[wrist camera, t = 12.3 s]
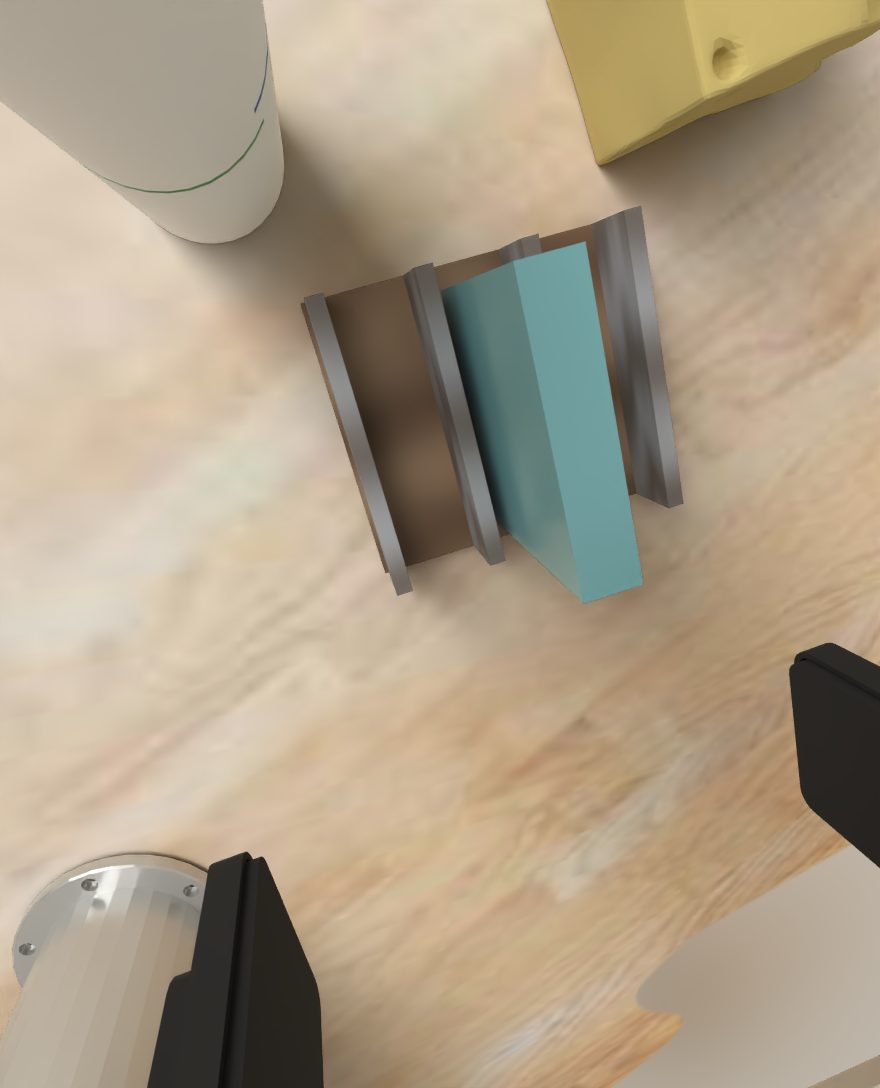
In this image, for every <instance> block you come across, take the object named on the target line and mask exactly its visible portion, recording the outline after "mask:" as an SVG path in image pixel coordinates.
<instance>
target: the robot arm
mask: <svg viewBox="0 0 880 1088" xmlns="http://www.w3.org/2000/svg"><path fill="white" fill-rule="evenodd" d="M789 676H790V686H791V696H792V707H793V717H794V727H795V737H796V747H797V757H798V768H799V778H800V788H801V792H802V795H803V797H804V799H805V801H806V803H807V804H808V806H809V807H810V808H811V809H812V810H813V811H814V812H815V813H816V814H817V815H818V816H820V817H821V818H822V819H823V820H824V821H825V822H827V823H828V824H829V825H830V826H831V827H832V828H834V829H835V830H836V831H837V832H838V833H839V834H841V835H842V836H843V837H844V838H845V839H847V840H848V841H849V842H850V843H851V844H852V845H854V846H855V847H856V848H857V849H858V850H859V851H861V852H862V853H863V854H864V855H865V856H866V857H868V858H869V859H870V860H871V861H872V862H873V863H875V864H876V865H877V866H878V867H879V868H880V667H879V666H877V665H876V664H874V663H872V662H870V661H868V660H866V659H864V658H862V657H860V656H858V655H856V654H854V653H852V652H850V651H848V650H846V649H844V648H842V647H840V646H838V645H836V644H833V643H825V644H823V645H820V646H817V647H814V648H811V649H809V650H806V651H803V652H800V653H799V654H797V655H796V657H795V660H794V664H793V665H792V666H791V667H790V669H789ZM12 957H13V968H14V971H15V974H16V977H17V980H18V982H19V984H20V986H21V987H22V991H21V993H20V995H19V998H18V1000H17V1002H16V1004H15V1007H14V1009H13V1011H12V1013H11V1016H10V1018H9V1020H8V1022H7V1025H6V1027H5V1029H4V1031H3V1034H2V1036H1V1038H0V1088H324V1084H323V1058H322V1032H321V1007H320V998H319V992H318V987H317V984H316V980H315V978H314V975H313V973H312V970H311V968H310V966H309V963H308V961H307V958H306V956H305V954H304V951H303V949H302V946H301V944H300V942H299V939H298V937H297V934H296V932H295V930H294V927H293V925H292V922H291V920H290V918H289V915H288V913H287V911H286V908H285V906H284V903H283V901H282V899H281V896H280V894H279V891H278V889H277V887H276V884H275V882H274V879H273V877H272V875H271V872H270V870H269V867H268V865H267V863H266V861H265V859H264V858H263V857H259V858H256V859H252V857H251V855H250V854H249V853H248V852H244V853H241V854H238V855H235V856H233V857H230V858H227V859H224V860H221V861H219V862H216V863H213V864H211V865H210V867H209V870H208V874H207V873H206V872H204V871H202V870H200V869H198V868H196V867H194V866H193V865H191V864H188V863H185V862H182V861H179V860H176V859H172V858H168V857H162V856H155V855H121V856H114V857H108V858H103V859H100V860H96V861H93V862H90V863H87V864H83V865H81V866H79V867H77V868H75V869H73V870H71V871H69V872H67V873H65V874H63V875H62V876H60V877H59V878H58V879H56V880H55V881H53V882H52V883H51V884H49V885H48V886H47V887H46V888H45V889H44V890H43V891H42V892H41V893H40V894H39V895H38V896H37V897H36V898H35V899H34V900H33V902H32V904H31V905H30V907H29V908H28V910H27V912H26V913H25V915H24V917H23V919H22V921H21V924H20V926H19V928H18V930H17V932H16V935H15V938H14V943H13V947H12ZM809 1088H880V1055H879V1056H877V1057H874V1058H872V1059H870V1060H868V1061H866V1062H864V1063H861V1064H859V1065H857V1066H855V1067H853V1068H850V1069H848V1070H846V1071H844V1072H841V1073H839V1074H838V1075H835V1076H833V1077H831V1078H828V1079H826V1080H824V1081H822V1082H820V1083H817V1084H815V1085H813V1086H811V1087H809Z"/></svg>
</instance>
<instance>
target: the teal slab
mask: <svg viewBox="0 0 880 1088" xmlns="http://www.w3.org/2000/svg"><path fill="white" fill-rule="evenodd" d="M440 292H441V296H442V300H443V304H444V308H445V313H446V317H447V321H448V325H449V329H450V333H451V337H452V341H453V345H454V349H455V354H456V358H457V362H458V366H459V370H460V374H461V378H462V382H463V386H464V390H465V395H466V399H467V403H468V407H469V411H470V415H471V419H472V423H473V427H474V432H475V436H476V440H477V444H478V448H479V452H480V456H481V460H482V464H483V468H484V473H485V477H486V481H487V485H488V489H489V493H490V497H491V501H492V505H493V510H494V514H495V518H496V521H497V522H498V523H499V524H500V525H501V526H502V527H503V528H504V529H505V530H506V531H507V532H508V533H509V534H510V535H511V536H512V537H513V538H515V539H516V540H517V541H518V542H519V543H520V544H521V545H522V546H523V547H524V548H525V549H526V550H527V551H528V552H529V553H530V554H531V555H532V556H533V557H535V558H536V559H537V560H538V561H539V562H540V563H541V564H542V565H543V566H544V567H545V568H546V569H547V570H548V571H549V572H550V573H551V574H552V575H553V576H555V577H556V578H557V579H558V580H559V581H560V582H561V583H562V584H563V585H564V586H565V587H566V588H567V589H568V590H569V591H570V592H571V593H572V594H573V595H574V596H576V597H577V598H578V599H579V600H580V601H581V602H582V603H583V604H586V603H589V602H592V601H595V600H598V599H601V598H604V597H607V596H610V595H613V594H616V593H619V592H622V591H625V590H628V589H631V588H634V587H637V586H640V585H643V578H642V572H641V566H640V560H639V554H638V548H637V543H636V537H635V531H634V525H633V519H632V513H631V507H630V501H629V495H628V489H627V483H626V478H625V472H624V466H623V460H622V454H621V448H620V442H619V436H618V430H617V424H616V418H615V413H614V407H613V401H612V395H611V389H610V383H609V377H608V371H607V365H606V359H605V354H604V348H603V342H602V336H601V330H600V324H599V318H598V312H597V306H596V300H595V294H594V289H593V283H592V277H591V271H590V265H589V259H588V253H587V247H586V241H585V242H582V243H578V244H574V245H571V246H567V247H563V248H560V249H556V250H552V251H549V252H545V253H541V254H538V255H534V256H530V257H527V258H523V259H519V260H516V261H513V262H510V263H508V264H505V265H503V266H500V267H498V268H495V269H493V270H490V271H488V272H485V273H483V274H480V275H478V276H475V277H473V278H471V279H468V280H466V281H463V282H461V283H458V284H456V285H453V286H451V287H448V288H446V289H443V290H441V291H440Z"/></svg>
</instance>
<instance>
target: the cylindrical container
mask: <svg viewBox="0 0 880 1088" xmlns="http://www.w3.org/2000/svg"><path fill="white" fill-rule="evenodd" d="M0 101H1V102H2V103H4V104H5V105H6V106H7V107H9V108H10V109H11V110H13V111H14V112H15V113H16V114H18V115H19V116H20V117H21V118H23V119H24V120H25V121H27V122H28V123H29V124H30V125H32V126H33V127H34V128H35V129H37V130H38V131H39V132H41V133H42V134H43V135H44V136H46V137H47V138H48V139H49V140H51V141H52V142H53V143H55V144H56V145H57V146H58V147H60V148H61V149H62V150H64V151H65V152H66V153H67V154H69V155H70V156H71V157H73V158H74V159H75V160H76V161H78V162H79V163H80V164H82V165H83V166H84V167H85V168H87V169H88V170H89V171H90V172H92V173H93V174H94V175H96V176H97V177H98V178H99V179H101V180H102V181H103V182H104V183H106V184H107V185H108V186H110V187H111V188H112V189H113V190H115V191H116V192H117V193H118V194H120V195H121V196H122V197H123V198H125V199H126V200H127V201H129V202H130V203H131V204H132V205H134V206H135V207H136V208H137V209H139V210H140V211H141V212H142V213H144V214H145V215H146V216H148V217H149V218H150V219H151V220H153V221H154V222H155V223H156V224H158V225H159V226H161V227H162V228H164V229H166V230H167V231H169V232H170V233H172V234H174V235H176V236H179V237H181V238H184V239H186V240H190V241H194V242H199V243H215V244H219V243H224V242H229V241H234V240H236V239H238V238H241V237H243V236H245V235H247V234H249V233H251V232H252V231H253V230H254V229H256V228H257V227H258V226H260V225H261V224H262V223H263V222H264V220H265V219H266V218H267V217H268V215H269V214H270V213H271V212H272V210H273V208H274V206H275V204H276V202H277V200H278V198H279V195H280V191H281V188H282V184H283V176H284V156H283V146H282V139H281V131H280V124H279V117H278V110H277V102H276V95H275V88H274V80H273V73H272V66H271V58H270V51H269V44H268V36H267V29H266V23H265V14H264V7H263V0H0Z"/></svg>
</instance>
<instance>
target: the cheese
mask: <svg viewBox="0 0 880 1088" xmlns="http://www.w3.org/2000/svg"><path fill="white" fill-rule="evenodd" d="M547 3H548V6H549V9H550V12H551V15H552V18H553V21H554V24H555V27H556V30H557V33H558V36H559V39H560V42H561V45H562V48H563V50H564V53H565V56H566V59H567V62H568V65H569V68H570V71H571V74H572V78H573V81H574V84H575V88H576V91H577V95H578V98H579V102H580V105H581V108H582V112H583V116H584V119H585V123H586V127H587V130H588V134H589V138H590V141H591V145H592V149H593V152H594V156H595V160H596V163H597V164H598V165H604V164H606V163H609V162H611V161H613V160H615V159H617V158H619V157H621V156H624V155H626V154H628V153H630V152H632V151H634V150H636V149H638V148H640V147H642V146H645V145H647V144H649V143H651V142H653V141H655V140H657V139H659V138H661V137H663V136H665V135H667V134H669V133H671V132H673V131H675V130H677V129H679V128H681V127H683V126H685V125H686V124H688V123H690V122H692V121H694V120H696V119H699V118H701V117H703V116H706V115H708V114H715V113H718V112H721V111H723V110H726V109H729V108H731V107H734V106H736V105H739V104H742V103H744V102H747V101H750V100H753V99H756V98H759V97H762V96H765V95H768V94H771V93H774V92H777V91H780V90H783V89H785V88H787V87H790V86H792V85H794V84H796V83H798V82H800V81H801V80H803V79H804V78H806V77H808V76H809V75H811V74H812V73H813V72H815V71H816V70H817V69H819V67H820V64H821V60H823V59H824V58H826V57H828V56H830V55H832V54H834V53H836V52H838V51H840V50H843V49H845V48H848V47H850V46H853V45H854V44H856V43H858V42H860V41H862V40H863V39H865V38H867V37H868V36H870V35H872V34H873V33H875V32H876V31H878V30H879V29H880V0H547Z"/></svg>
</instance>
